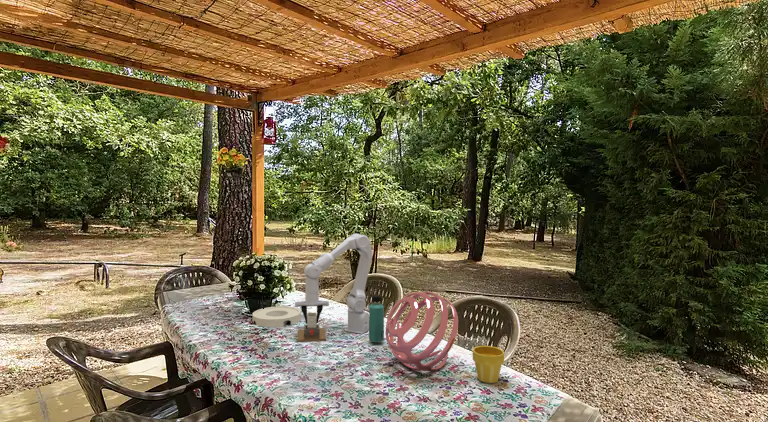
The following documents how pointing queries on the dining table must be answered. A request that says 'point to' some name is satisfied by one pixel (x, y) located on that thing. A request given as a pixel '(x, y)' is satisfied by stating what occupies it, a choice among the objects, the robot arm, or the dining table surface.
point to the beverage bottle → (376, 320)
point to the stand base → (311, 334)
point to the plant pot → (488, 363)
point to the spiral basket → (404, 347)
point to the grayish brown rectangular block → (311, 321)
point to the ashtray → (276, 316)
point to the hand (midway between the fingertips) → (311, 322)
